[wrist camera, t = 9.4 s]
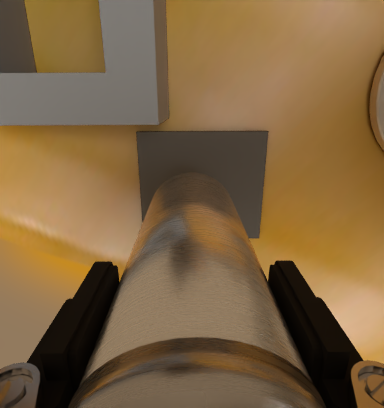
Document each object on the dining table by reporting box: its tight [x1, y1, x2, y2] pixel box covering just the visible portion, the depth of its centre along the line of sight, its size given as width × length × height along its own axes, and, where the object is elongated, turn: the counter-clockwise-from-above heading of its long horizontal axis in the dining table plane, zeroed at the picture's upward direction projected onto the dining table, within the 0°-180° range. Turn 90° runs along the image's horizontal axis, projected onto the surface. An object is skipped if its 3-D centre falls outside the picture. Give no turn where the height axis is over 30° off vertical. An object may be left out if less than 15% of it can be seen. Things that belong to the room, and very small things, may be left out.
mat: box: [136, 131, 268, 238], centre depth 23 cm, size 10×9×1 cm
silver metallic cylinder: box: [68, 172, 326, 408], centre depth 12 cm, size 6×6×14 cm
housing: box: [0, 0, 169, 125], centre depth 16 cm, size 12×12×7 cm
